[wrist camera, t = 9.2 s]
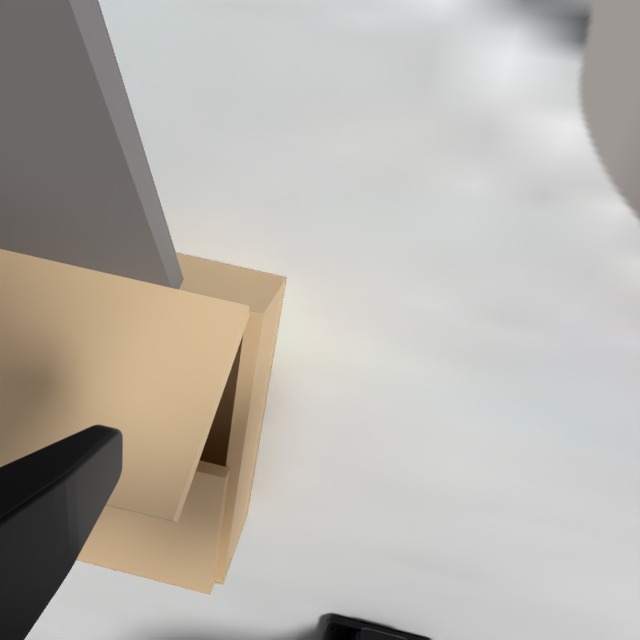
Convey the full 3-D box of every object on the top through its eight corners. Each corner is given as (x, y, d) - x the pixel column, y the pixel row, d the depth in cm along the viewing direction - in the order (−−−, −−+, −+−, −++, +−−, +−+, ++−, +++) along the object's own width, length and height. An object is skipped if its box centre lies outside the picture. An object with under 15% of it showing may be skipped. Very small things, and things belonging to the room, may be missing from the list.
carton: (246, 517, 25) (218, 596, 21) (-66, 440, 26) (-152, 501, 22) (286, 277, 20) (259, 321, 15) (-116, 187, 20) (-247, 205, 16)
